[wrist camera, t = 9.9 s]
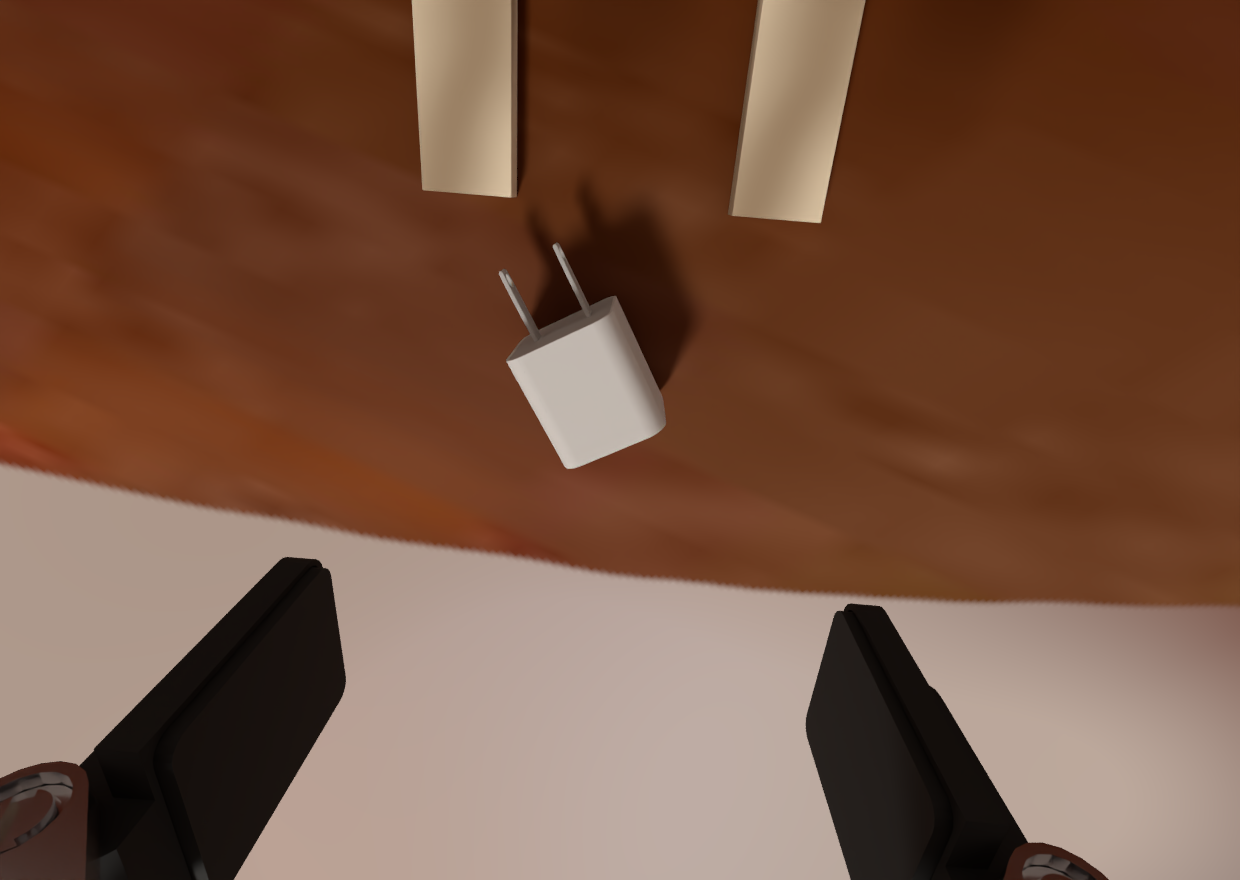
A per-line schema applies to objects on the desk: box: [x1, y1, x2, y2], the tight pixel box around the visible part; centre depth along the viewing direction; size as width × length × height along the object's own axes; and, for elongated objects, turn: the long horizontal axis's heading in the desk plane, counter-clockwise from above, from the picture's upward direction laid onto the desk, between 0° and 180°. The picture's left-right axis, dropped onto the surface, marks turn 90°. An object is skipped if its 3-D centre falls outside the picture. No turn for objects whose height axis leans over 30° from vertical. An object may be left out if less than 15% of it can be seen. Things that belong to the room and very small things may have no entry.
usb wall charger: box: [499, 243, 666, 469], centre depth 21 cm, size 4×7×4 cm, turn 25°
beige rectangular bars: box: [412, 0, 865, 223], centre depth 18 cm, size 14×11×1 cm
